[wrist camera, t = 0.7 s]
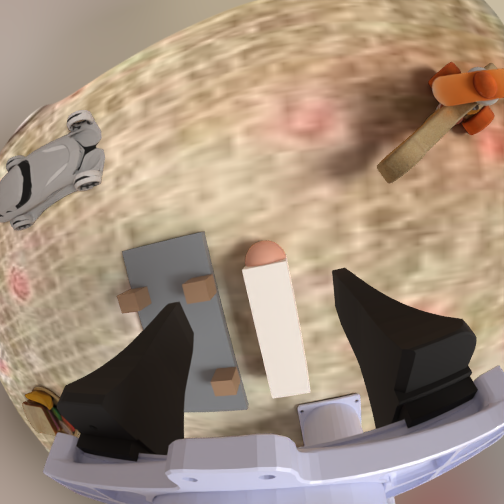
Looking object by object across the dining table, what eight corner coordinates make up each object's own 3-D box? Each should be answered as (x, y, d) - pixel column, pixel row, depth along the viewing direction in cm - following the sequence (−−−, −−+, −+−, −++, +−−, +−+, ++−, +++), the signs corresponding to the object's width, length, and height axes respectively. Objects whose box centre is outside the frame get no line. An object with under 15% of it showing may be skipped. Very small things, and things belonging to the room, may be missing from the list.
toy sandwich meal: (89, 443, 39) (78, 456, 34) (45, 424, 40) (34, 435, 36) (67, 392, 37) (52, 405, 33) (25, 376, 39) (10, 386, 34)
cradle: (250, 403, 33) (245, 424, 29) (176, 407, 34) (165, 425, 30) (206, 231, 31) (194, 233, 26) (125, 250, 32) (106, 255, 28)
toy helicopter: (483, 117, 25) (547, 88, 11) (390, 213, 28) (460, 214, 15) (444, 68, 24) (497, 20, 11) (342, 154, 28) (382, 110, 14)
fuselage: (307, 369, 32) (310, 392, 27) (274, 374, 32) (272, 398, 27) (282, 235, 30) (281, 238, 25) (244, 242, 31) (237, 248, 26)
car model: (112, 183, 32) (87, 179, 27) (11, 239, 35) (-10, 242, 30) (100, 108, 31) (78, 97, 26) (3, 178, 34) (-17, 177, 29)
